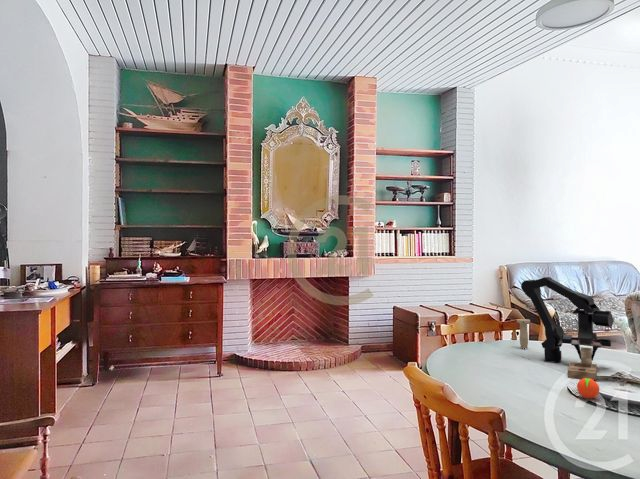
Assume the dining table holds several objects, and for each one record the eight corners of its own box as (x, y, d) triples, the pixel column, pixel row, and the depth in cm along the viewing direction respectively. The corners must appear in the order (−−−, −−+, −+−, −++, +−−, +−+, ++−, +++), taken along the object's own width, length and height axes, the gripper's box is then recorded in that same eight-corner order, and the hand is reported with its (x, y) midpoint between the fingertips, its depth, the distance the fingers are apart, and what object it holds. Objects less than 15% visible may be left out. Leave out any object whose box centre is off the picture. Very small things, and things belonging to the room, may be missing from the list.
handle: (531, 350, 239) (530, 320, 239) (517, 349, 241) (516, 320, 241) (530, 348, 243) (530, 319, 243) (517, 347, 246) (516, 318, 246)
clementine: (599, 403, 160) (598, 382, 160) (576, 400, 164) (575, 379, 164) (599, 396, 167) (599, 376, 167) (577, 393, 171) (577, 374, 171)
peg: (581, 367, 205) (580, 349, 205) (581, 365, 208) (581, 347, 208) (591, 368, 203) (591, 350, 203) (592, 366, 206) (591, 348, 206)
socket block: (567, 377, 190) (567, 370, 190) (570, 368, 203) (570, 361, 203) (596, 380, 185) (596, 373, 185) (597, 371, 198) (596, 364, 198)
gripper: (560, 325, 204) (561, 361, 204) (610, 329, 194) (611, 366, 194) (562, 321, 213) (563, 356, 213) (610, 324, 203) (611, 360, 203)
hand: (586, 359), depth 206 cm, fingers closed on peg, 4 cm apart
